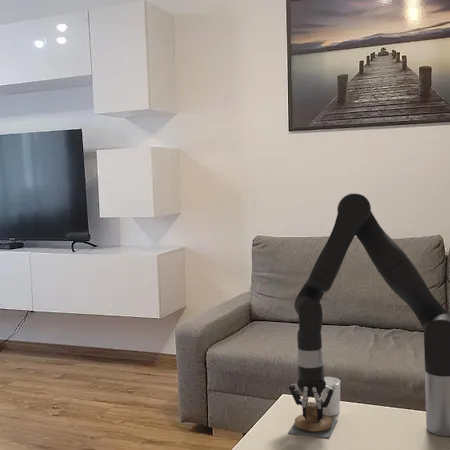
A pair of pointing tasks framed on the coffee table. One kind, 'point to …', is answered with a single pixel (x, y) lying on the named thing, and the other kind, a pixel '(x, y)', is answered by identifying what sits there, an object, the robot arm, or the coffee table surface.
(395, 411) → the coffee table surface
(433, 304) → the robot arm
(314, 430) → the lid
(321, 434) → the mat
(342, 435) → the coffee table surface
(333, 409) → the white cup
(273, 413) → the coffee table surface
